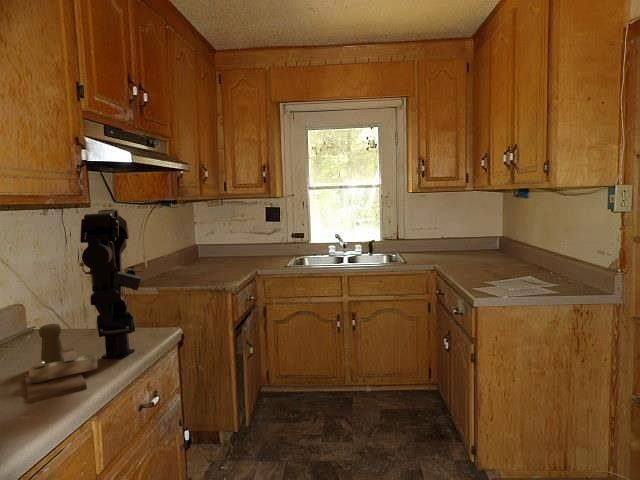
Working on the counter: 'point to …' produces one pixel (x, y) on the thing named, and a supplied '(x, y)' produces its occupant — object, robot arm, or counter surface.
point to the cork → (50, 343)
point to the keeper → (64, 356)
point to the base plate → (54, 386)
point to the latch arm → (63, 368)
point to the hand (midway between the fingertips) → (108, 325)
